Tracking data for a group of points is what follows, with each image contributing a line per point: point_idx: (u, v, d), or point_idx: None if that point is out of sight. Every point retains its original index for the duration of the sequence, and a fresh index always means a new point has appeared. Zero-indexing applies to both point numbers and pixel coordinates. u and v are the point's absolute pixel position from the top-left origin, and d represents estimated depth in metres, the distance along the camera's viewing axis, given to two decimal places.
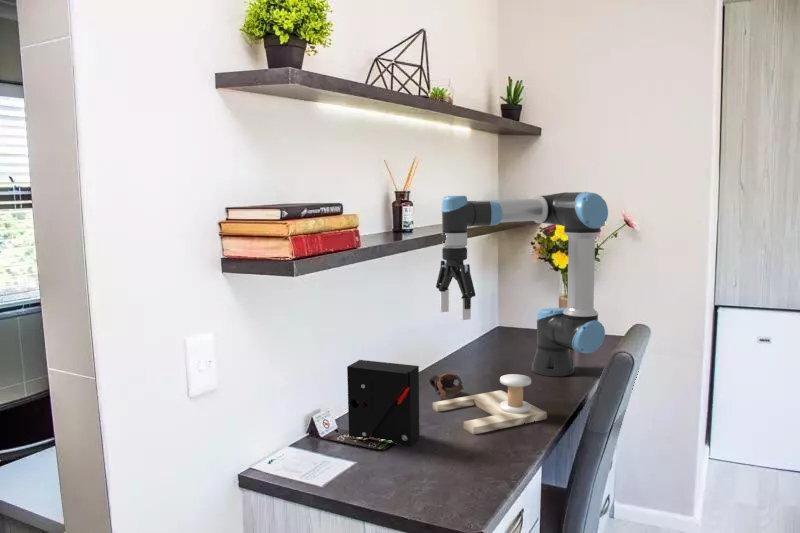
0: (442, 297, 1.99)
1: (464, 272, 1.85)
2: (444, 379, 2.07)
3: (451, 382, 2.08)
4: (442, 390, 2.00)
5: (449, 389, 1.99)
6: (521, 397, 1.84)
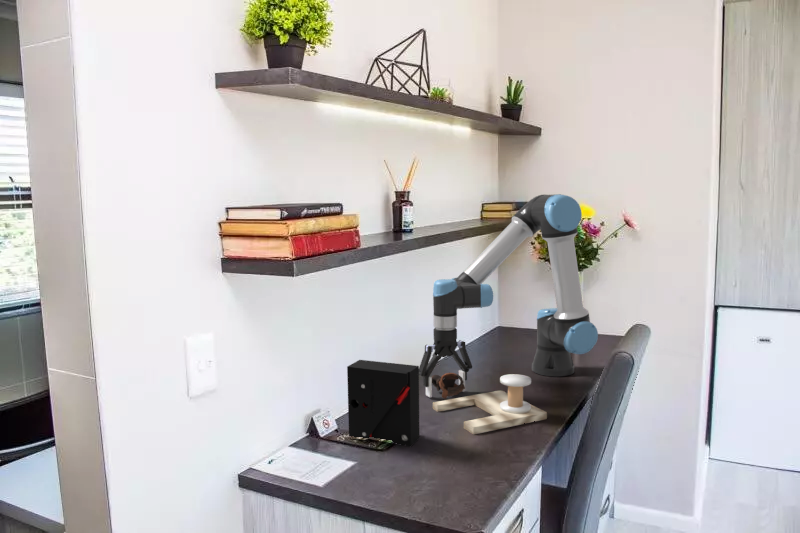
0: None
1: (425, 352, 2.01)
2: (446, 378, 2.07)
3: (453, 381, 2.08)
4: (444, 389, 2.01)
5: (451, 388, 1.99)
6: (521, 397, 1.84)
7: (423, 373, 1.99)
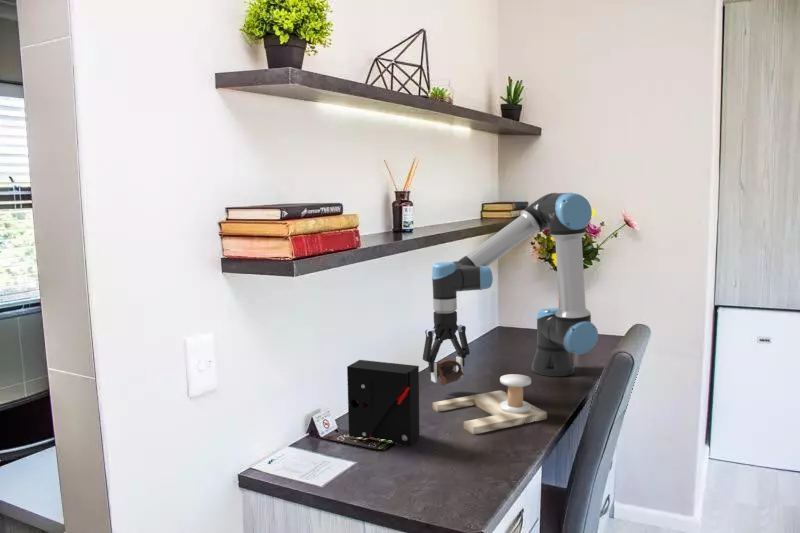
0: None
1: (426, 337, 2.00)
2: (443, 366, 2.06)
3: (450, 368, 2.07)
4: (442, 376, 1.99)
5: (450, 375, 1.98)
6: (521, 397, 1.84)
7: (428, 358, 1.99)
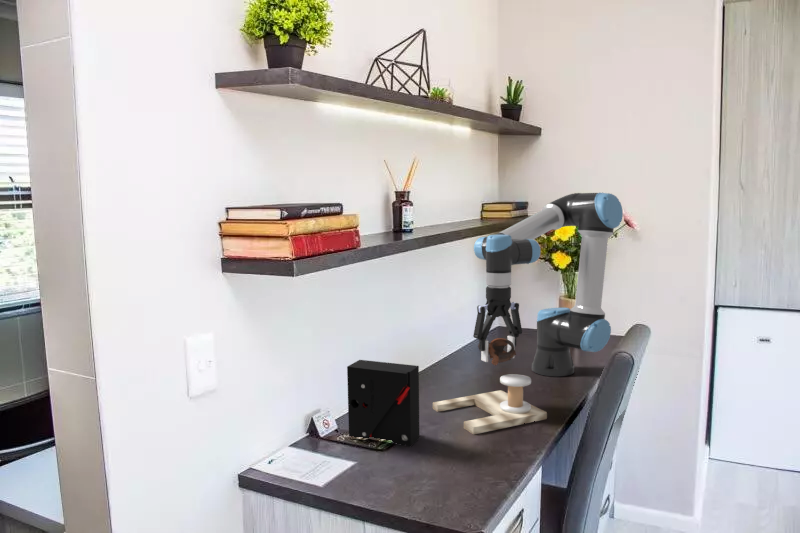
0: None
1: (478, 313, 1.89)
2: (494, 345, 1.94)
3: (501, 348, 1.95)
4: (494, 355, 1.87)
5: (502, 354, 1.86)
6: (521, 397, 1.84)
7: (479, 336, 1.87)
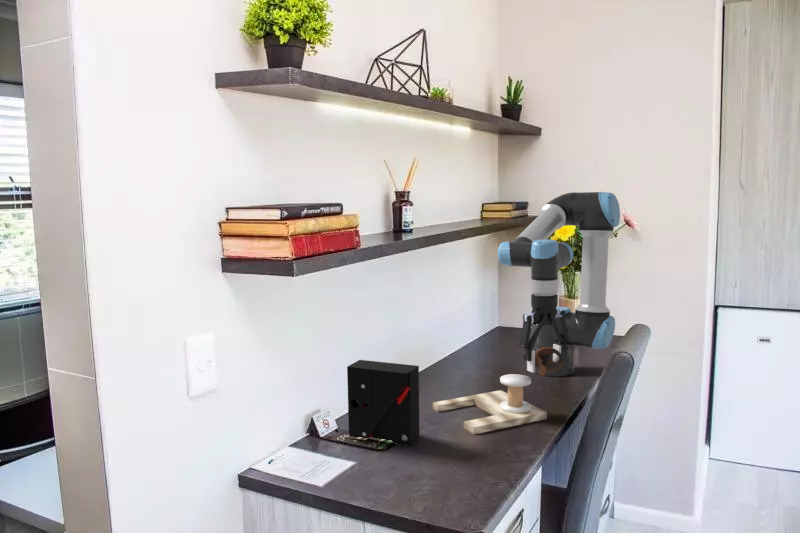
0: None
1: (524, 322, 1.81)
2: (539, 354, 1.87)
3: (546, 357, 1.88)
4: (542, 366, 1.80)
5: (550, 364, 1.79)
6: (521, 397, 1.84)
7: (526, 346, 1.80)
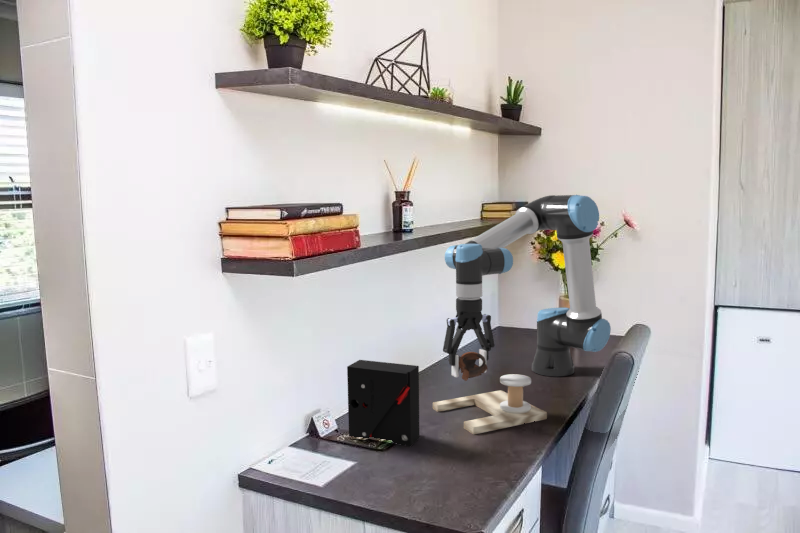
0: None
1: (448, 326, 1.80)
2: (465, 359, 1.86)
3: (473, 362, 1.87)
4: (465, 370, 1.79)
5: (473, 369, 1.78)
6: (521, 397, 1.84)
7: (449, 350, 1.79)
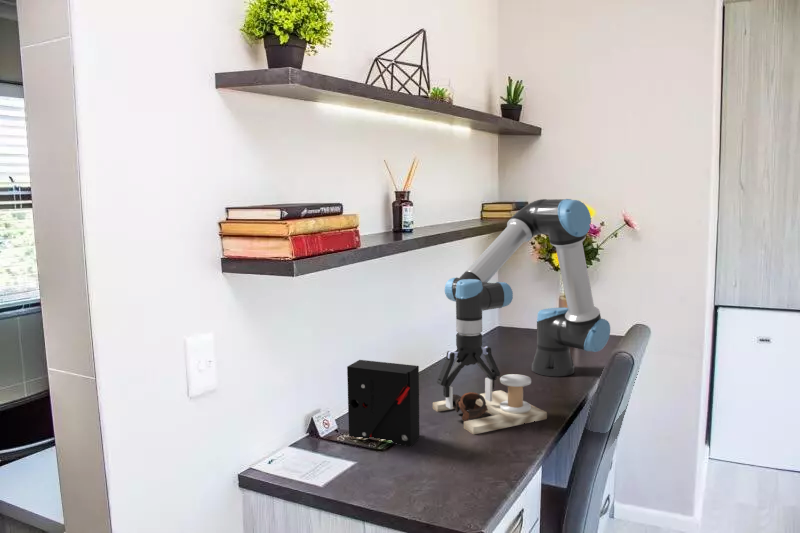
0: (486, 384, 1.88)
1: (447, 359, 1.81)
2: (465, 398, 1.87)
3: (473, 402, 1.88)
4: (465, 411, 1.80)
5: (473, 410, 1.79)
6: (521, 397, 1.84)
7: (443, 382, 1.79)
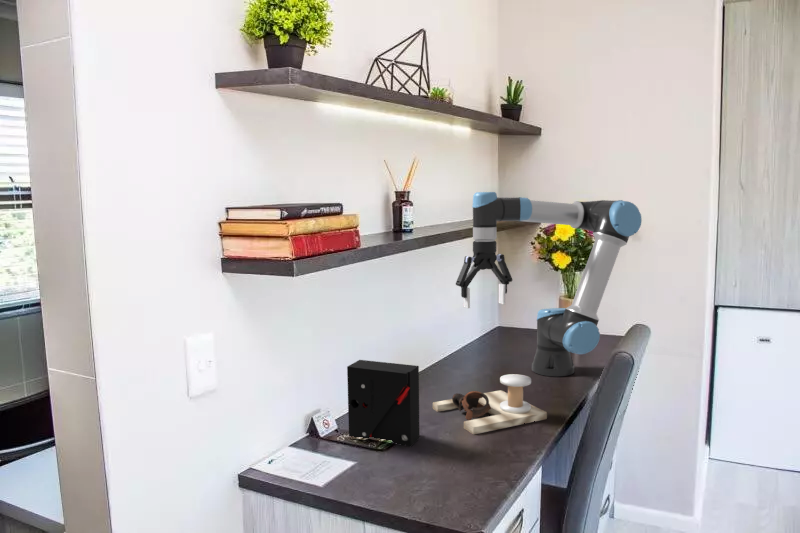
0: (499, 289, 2.07)
1: (464, 263, 2.00)
2: (468, 397, 1.88)
3: (476, 400, 1.89)
4: (468, 410, 1.81)
5: (476, 409, 1.80)
6: (521, 397, 1.84)
7: (462, 283, 1.98)
